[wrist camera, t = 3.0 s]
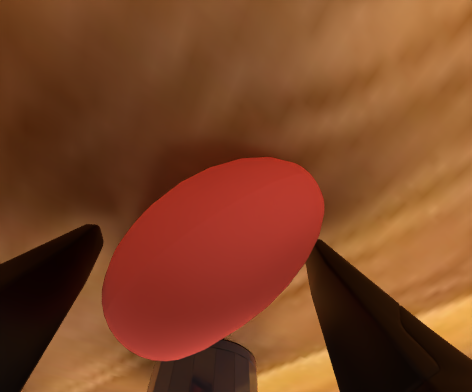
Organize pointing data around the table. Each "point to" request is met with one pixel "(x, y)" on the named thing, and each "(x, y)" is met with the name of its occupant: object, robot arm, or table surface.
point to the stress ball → (211, 256)
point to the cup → (207, 371)
